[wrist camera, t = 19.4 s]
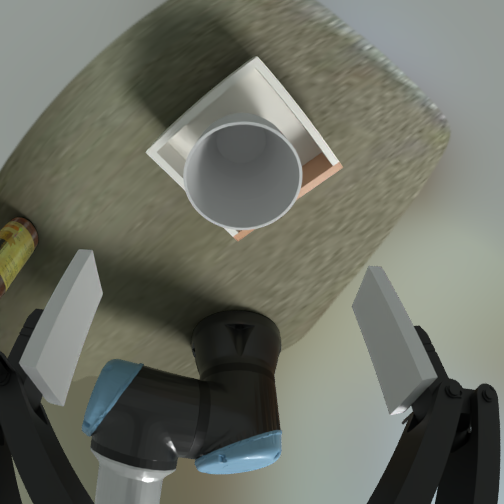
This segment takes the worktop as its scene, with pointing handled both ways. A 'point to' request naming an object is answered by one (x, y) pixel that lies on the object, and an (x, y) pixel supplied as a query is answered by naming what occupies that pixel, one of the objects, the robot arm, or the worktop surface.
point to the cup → (242, 173)
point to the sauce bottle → (15, 249)
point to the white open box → (254, 102)
